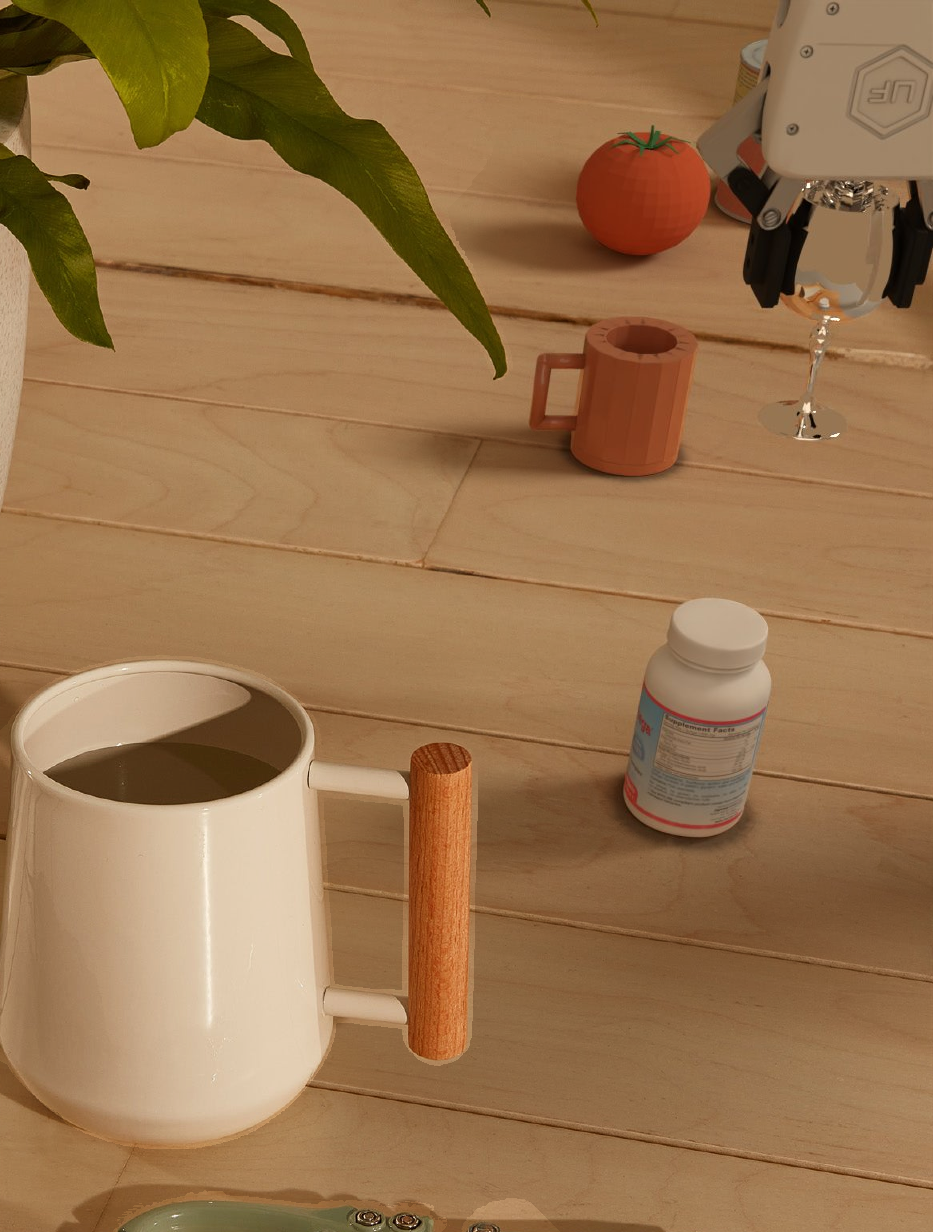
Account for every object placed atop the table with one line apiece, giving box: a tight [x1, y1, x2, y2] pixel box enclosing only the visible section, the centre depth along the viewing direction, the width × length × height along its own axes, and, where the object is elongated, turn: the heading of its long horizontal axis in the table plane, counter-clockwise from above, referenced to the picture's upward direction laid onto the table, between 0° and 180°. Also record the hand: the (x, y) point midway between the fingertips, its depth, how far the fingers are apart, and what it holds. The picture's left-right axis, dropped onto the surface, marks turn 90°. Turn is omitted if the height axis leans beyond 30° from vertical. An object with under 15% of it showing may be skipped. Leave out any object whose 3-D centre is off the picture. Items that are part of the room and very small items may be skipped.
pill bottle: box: [622, 597, 772, 838], centre depth 102 cm, size 6×6×11 cm
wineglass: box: [757, 180, 902, 442], centre depth 102 cm, size 6×6×12 cm
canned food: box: [714, 38, 814, 225], centre depth 166 cm, size 11×11×12 cm
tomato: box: [575, 124, 711, 256], centre depth 159 cm, size 10×10×10 cm
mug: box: [528, 315, 699, 477], centre depth 134 cm, size 10×7×8 cm
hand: (829, 294), depth 102 cm, fingers closed on wineglass, 5 cm apart
